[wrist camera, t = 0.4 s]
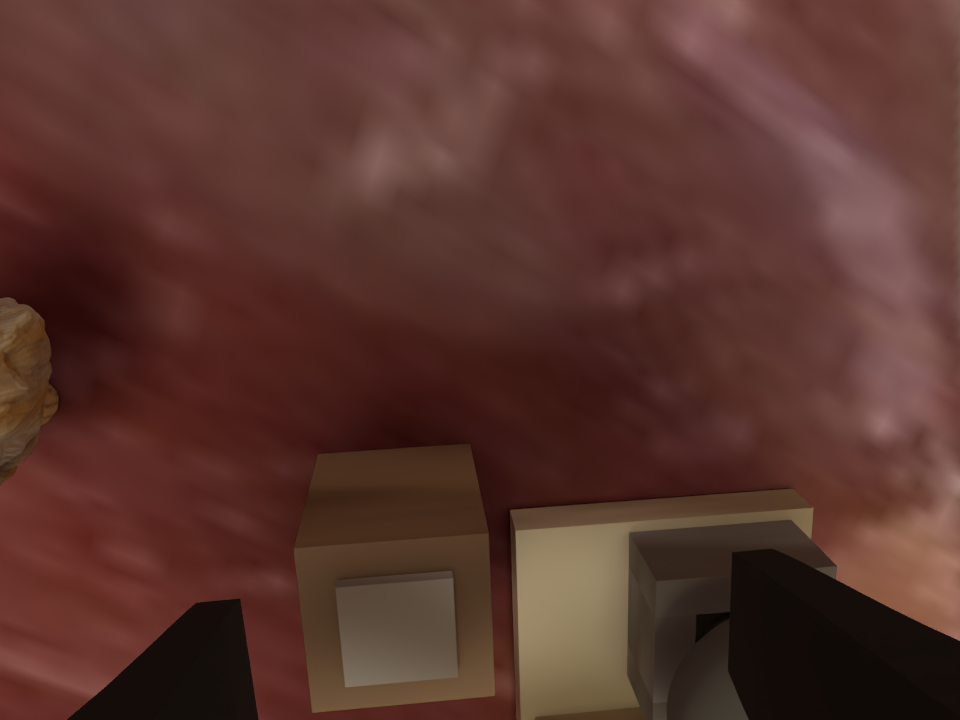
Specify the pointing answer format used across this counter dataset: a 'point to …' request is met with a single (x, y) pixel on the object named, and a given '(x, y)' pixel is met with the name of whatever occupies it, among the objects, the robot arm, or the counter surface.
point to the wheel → (706, 679)
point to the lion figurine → (23, 383)
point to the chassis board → (632, 593)
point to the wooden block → (395, 579)
